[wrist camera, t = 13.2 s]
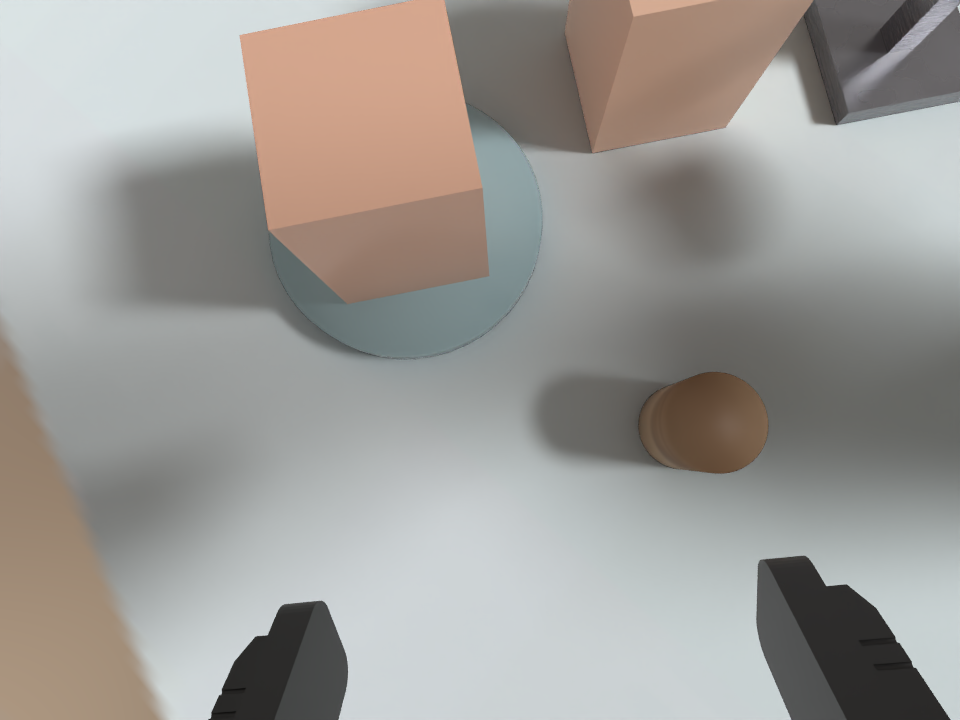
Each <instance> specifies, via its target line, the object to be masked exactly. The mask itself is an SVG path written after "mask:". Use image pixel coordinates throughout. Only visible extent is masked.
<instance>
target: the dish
mask: <svg viewBox="0 0 960 720" xmlns="http://www.w3.org/2000/svg"><path fill="white" fill-rule="evenodd" d="M465 104H466V103H465ZM466 109H467V114H468V119H469V124H470V129H471V134H472V138H473V143H474V148H475V153H476V158H477V163H478V168H479V173H480V178H481V183H482V188H483V200H484V213H485V226H486V239H487V252H488V265H489V276H488V277H483V278H478V279H473V280H468V281H463V282H458V283H453V284H448V285H442V286H437V287H432V288H427V289H422V290H417V291H412V292H407V293H402V294H397V295H392V296H386V297H381V298H376V299H371V300H366V301H361V302H356V303H351V304H347V303H346V302H345V301H344V300H342V299H341V298H340V297H339V296H338V295H337V294H336V293H335V292H334V291H333V290H332V289H331V288H330V287H328V286H327V285H326V284H325V283H324V282H323V281H322V280H321V279H320V278H319V277H318V276H317V275H316V274H315V273H313V272H312V271H311V270H310V269H309V268H308V267H307V266H306V265H305V264H304V263H303V262H302V261H301V260H300V259H298V258H297V257H296V256H295V255H294V254H293V253H292V252H291V251H290V250H289V249H288V248H287V247H286V246H285V245H283V244H282V243H281V242H280V241H279V240H278V239H277V238H276V237H275V236H274V235H273V234H272V233H271V232H270V231H269V240H270V248H271V253H272V258H273V262H274V265H275V268H276V270H277V273H278V276H279V279H280V280H281V282H282V284H283V286H284V288H285V290H286V292H287V294H288V295H289V296H290V298H291V299H292V301H293V302H294V303H295V305H296V306H297V308H298V309H299V310H300V311H301V312H302V313H303V314H304V315H305V316H306V317H307V318H308V319H309V320H310V321H311V322H312V323H314V324H315V325H316V326H318V327H319V328H320V329H321V330H323V331H324V332H325V333H327V334H328V335H330V336H332V337H333V338H335V339H337V340H338V341H340V342H342V343H343V344H345V345H347V346H349V347H352V348H354V349H356V350H359V351H361V352H364V353H368V354H371V355H375V356H379V357H386V358H393V359H418V358H426V357H433V356H436V355H440V354H444V353H448V352H451V351H453V350H456V349H458V348H461V347H463V346H466V345H467V344H469V343H471V342H473V341H474V340H476V339H478V338H480V337H481V336H483V335H484V334H485V333H487V332H488V331H489V330H491V329H492V328H493V327H495V326H496V325H497V324H498V323H499V322H500V321H501V320H502V319H503V318H504V317H505V316H506V315H507V314H508V313H509V312H510V310H511V309H512V308H513V307H514V305H515V304H516V303H517V302H518V300H519V298H520V297H521V295H522V293H523V292H524V290H525V288H526V287H527V285H528V282H529V280H530V278H531V275H532V273H533V271H534V268H535V264H536V260H537V257H538V253H539V247H540V241H541V233H542V205H541V198H540V192H539V188H538V185H537V181H536V178H535V175H534V173H533V171H532V168H531V166H530V164H529V161H528V160H527V158H526V156H525V155H524V153H523V152H522V150H521V148H520V147H519V145H518V144H517V143H516V142H515V141H514V139H513V138H512V137H511V136H510V134H509V133H508V132H507V131H506V130H504V129H503V128H502V127H501V126H500V125H499V124H498V123H497V122H496V121H494V120H493V119H492V118H490V117H489V116H487V115H486V114H485V113H483V112H482V111H480V110H478V109H476V108H474V107H472V106H470V105H469V104H466Z"/></svg>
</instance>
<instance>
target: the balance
mask: <svg viewBox="0 0 960 720" xmlns="http://www.w3.org/2000/svg"><path fill="white" fill-rule="evenodd" d="M959 4H960V0H813V2H812V3H811V5H810V6H809V8H808V9H807V11H806V12H805V13H804V16H805V19H806V23H807V26H808V30H809V33H810V36H811V40H812V43H813V47H814V50H815V53H816V57H817V60H818V64H819V67H820V70H821V74H822V77H823V81H824V84H825V87H826V91H827V94H828V98H829V101H830V104H831V108H832V111H833V115H834V118H835V121H836V125H839V124H844V123H850V122H855V121H860V120H865V119H870V118H875V117H881V116H886V115H891V114H896V113H901V112H907V111H912V110H917V109H922V108H927V107H932V106H938V105H943V104H948V103H953V102H958V101H960V13H959V10H958V7H957V6H958V5H959Z"/></svg>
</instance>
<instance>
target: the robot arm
mask: <svg viewBox="0 0 960 720" xmlns="http://www.w3.org/2000/svg"><path fill="white" fill-rule="evenodd" d="M756 620H757V630H758V635H759V640H760V644H761V647H762V650H763V653H764V656H765V659H766V661H767V663H768V666H769V668H770V670H771V673H772V675H773V677H774V680H775V682H776V684H777V687H778V689H779V691H780V694H781V696H782V699H783V701H784V703H785V706H786V708H787V710H788V713H789V715H790V717H791V720H950V718H949V717H948V715H947V714H946V712H945V711H944V709H943V708H942V706H941V705H940V703H939V702H938V700H937V699H936V697H935V696H934V694H933V693H932V691H931V690H930V688H929V687H928V685H927V684H926V682H925V681H924V679H923V678H922V676H921V675H920V673H919V672H918V670H917V669H916V668H914V667H913V666H912V661H911V660H910V658H909V657H908V655H907V654H906V652H905V651H904V649H903V648H902V646H901V645H900V643H897V642H896V639H895V636H894V634H893V633H892V631H891V630H890V628H889V627H888V625H887V624H886V622H885V621H884V619H883V618H882V616H881V615H880V613H879V612H878V610H877V609H876V608H875V607H874V606H873V605H871V604H870V603H869V602H868V601H866V600H865V599H864V598H863V597H862V596H860V595H859V594H858V593H857V592H855V591H854V590H853V589H852V588H850V587H849V586H848V585H836V586H826V585H825V584H824V582H823V580H822V579H821V577H820V575H819V574H818V572H817V570H816V569H815V567H814V565H813V564H812V562H811V561H810V560H809V558H807V557H806V556H796V557H785V558H775V559H764V560H760V561H759V564H758V583H757V616H756ZM347 679H348V664H347V657H346V653H345V650H344V648H343V645H342V643H341V640H340V638H339V635H338V633H337V630H336V627H335V625H334V622H333V620H332V617H331V615H330V612H329V610H328V607H327V605H326V604H325V602H323V601H314V602H303V603H293V604H284V605H283V606H281V607H280V609H279V610H278V612H277V614H276V617H275V619H274V622H273V624H272V626H271V629H270V631H269V634H268V635H267V636H256V637H255V638H254V639H253V640H252V642H251V643H250V644H249V645H248V646H247V647H246V649H245V650H244V651H243V652H242V653H241V655H240V656H239V657H238V658H237V659H236V660H235V662H234V664H233V666H232V668H231V670H230V673H229V675H228V677H227V679H226V681H225V684H224V686H223V688H222V695H219V697H218V699H217V701H216V704H215V706H214V708H213V710H212V712H211V714H212V716H211V719H208V720H338V719H339V715H340V711H341V707H342V703H343V699H344V695H345V692H346V687H347Z"/></svg>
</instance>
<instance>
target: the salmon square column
mask: <svg viewBox="0 0 960 720" xmlns="http://www.w3.org/2000/svg"><path fill="white" fill-rule="evenodd" d="M812 2H813V0H569V7H568V13H567V20H566V27H565V36H566V41H567V45H568V49H569V54H570V58H571V63H572V67H573V71H574V76H575V80H576V84H577V89H578V93H579V98H580V102H581V106H582V111H583V115H584V119H585V124H586V128H587V133H588V137H589V141H590V146H591V150H592V153H596V152H601V151H606V150H612V149H617V148H622V147H627V146H632V145H637V144H643V143H648V142H653V141H658V140H663V139H669V138H674V137H679V136H684V135H689V134H694V133H700V132H705V131H710V130H715V129H720V128H725V127H726V126H727V125H728V123H729V122H730V120H731V119H732V117H733V116H734V114H735V113H736V112H737V110H738V109H739V107H740V106H741V104H742V103H743V101H744V100H745V99H746V97H747V96H748V94H749V93H750V91H751V90H752V89H753V87H754V86H755V84H756V83H757V81H758V80H759V78H760V77H761V76H762V74H763V73H764V71H765V70H766V68H767V67H768V65H769V64H770V63H771V61H772V60H773V58H774V57H775V55H776V54H777V52H778V51H779V50H780V48H781V47H782V45H783V44H784V42H785V41H786V39H787V38H788V37H789V35H790V34H791V32H792V31H793V29H794V28H795V26H796V25H797V24H798V22H799V21H800V19H801V18H802V16H803V15H804V13H805V12H806V11H807V9H808V8H809V6H810V5H811V3H812Z"/></svg>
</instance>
